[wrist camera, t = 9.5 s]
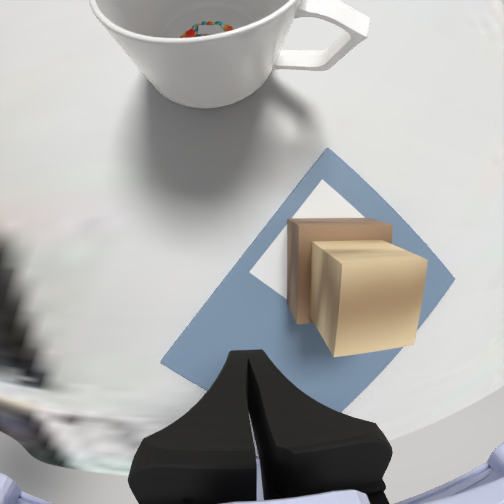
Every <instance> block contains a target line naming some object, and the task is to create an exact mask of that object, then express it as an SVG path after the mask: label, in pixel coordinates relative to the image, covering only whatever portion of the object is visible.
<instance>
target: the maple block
mask: <svg viewBox="0 0 504 504" xmlns="http://www.w3.org/2000/svg"><path fill="white" fill-rule="evenodd" d="M427 263H428V260H427V259H425V258H423V257H421V256H418V255H416V254H414V253H411V252H409V251H407V250H405V249H402V248H400V247H397V246H395V245H393V244H390V243H388V242H386V241H383V240H355V241H312V256H311V285H310V306H309V316H310V317H311V319H312V321H313V322H314V324H315V326H316V328H317V329H318V331H319V333H320V334H321V336H322V338H323V340H324V341H325V343H326V345H327V346H328V348H329V350H330V352H331V353H332V355H333V357H340V356H348V355H355V354H362V353H369V352H375V351H382V350H388V349H393V348H399V347H404V346H410V345H414V341H415V337H416V332H417V327H418V322H419V317H420V311H421V305H422V299H423V293H424V286H425V279H426V271H427Z"/></svg>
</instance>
